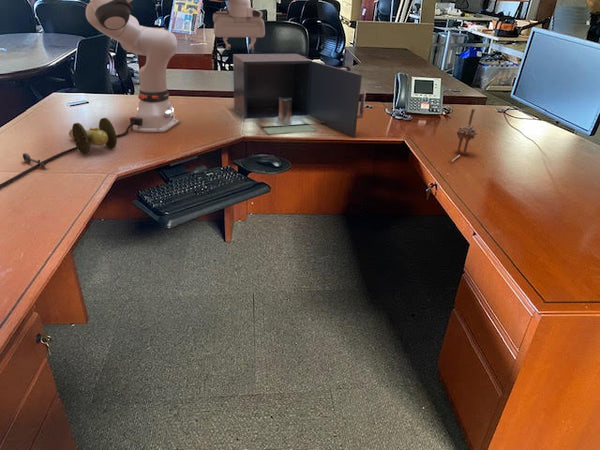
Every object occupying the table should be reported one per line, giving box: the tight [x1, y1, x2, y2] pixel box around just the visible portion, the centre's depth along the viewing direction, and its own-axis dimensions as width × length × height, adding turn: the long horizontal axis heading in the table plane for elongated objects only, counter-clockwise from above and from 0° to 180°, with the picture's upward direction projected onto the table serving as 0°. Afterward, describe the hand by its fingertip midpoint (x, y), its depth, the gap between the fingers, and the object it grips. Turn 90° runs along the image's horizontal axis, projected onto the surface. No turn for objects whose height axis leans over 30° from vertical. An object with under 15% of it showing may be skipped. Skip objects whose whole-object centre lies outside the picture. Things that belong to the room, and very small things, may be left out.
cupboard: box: [232, 53, 313, 120], centre depth 213 cm, size 20×32×26 cm, turn 111°
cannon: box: [68, 117, 118, 156], centre depth 165 cm, size 25×12×11 cm, turn 48°
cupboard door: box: [308, 60, 367, 138], centre depth 200 cm, size 7×32×26 cm, turn 36°
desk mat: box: [261, 123, 317, 136], centre depth 202 cm, size 18×22×1 cm
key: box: [22, 152, 46, 170], centre depth 149 cm, size 12×1×3 cm, turn 58°
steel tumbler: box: [277, 97, 292, 127], centre depth 200 cm, size 6×6×12 cm
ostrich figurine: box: [451, 107, 478, 163], centre depth 173 cm, size 17×7×18 cm, turn 144°
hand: (239, 49), depth 179 cm, fingers open, 8 cm apart
